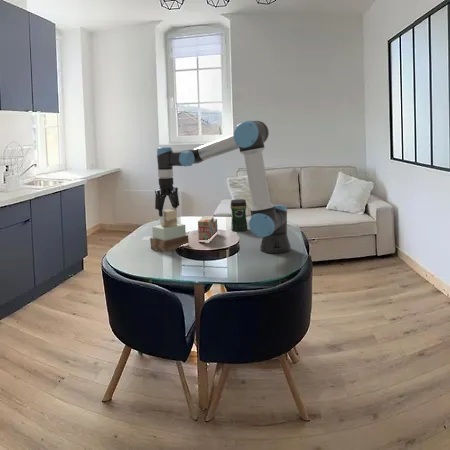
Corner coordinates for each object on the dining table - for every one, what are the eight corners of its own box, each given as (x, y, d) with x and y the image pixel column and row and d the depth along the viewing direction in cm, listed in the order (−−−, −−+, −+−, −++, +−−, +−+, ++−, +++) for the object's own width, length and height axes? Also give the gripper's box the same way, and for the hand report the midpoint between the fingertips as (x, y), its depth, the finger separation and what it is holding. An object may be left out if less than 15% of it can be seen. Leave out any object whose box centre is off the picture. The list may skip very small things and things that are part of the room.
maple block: (177, 225, 262) (176, 210, 261) (168, 227, 258) (167, 211, 257) (169, 224, 267) (169, 209, 265) (160, 225, 262) (160, 210, 261)
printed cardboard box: (207, 234, 292) (206, 213, 290) (217, 234, 291) (217, 213, 289) (198, 243, 272) (197, 221, 269) (209, 243, 271) (209, 221, 268)
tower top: (185, 235, 265) (185, 224, 264) (164, 240, 256) (163, 229, 254) (174, 233, 272) (173, 222, 271) (153, 237, 263) (152, 226, 261)
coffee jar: (246, 228, 304) (246, 198, 300) (247, 231, 296) (247, 200, 292) (230, 228, 303) (229, 198, 300) (231, 231, 296) (230, 200, 292)
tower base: (188, 246, 267) (188, 235, 265) (165, 252, 255) (165, 241, 254) (174, 243, 275) (173, 232, 273) (150, 249, 263) (150, 238, 262)
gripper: (175, 175, 267) (177, 217, 272) (145, 179, 253) (148, 223, 257) (185, 175, 262) (187, 218, 267) (155, 179, 248) (157, 225, 252)
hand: (168, 221), depth 262 cm, fingers open, 7 cm apart
